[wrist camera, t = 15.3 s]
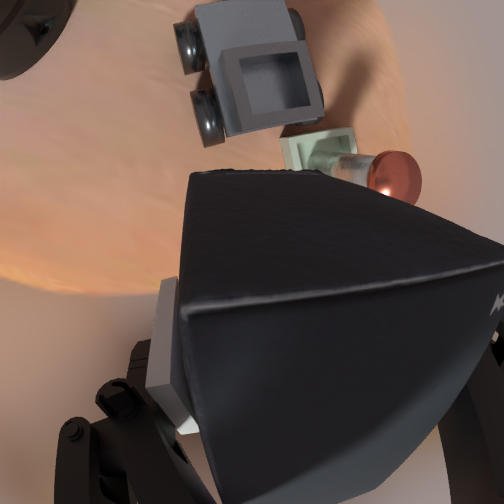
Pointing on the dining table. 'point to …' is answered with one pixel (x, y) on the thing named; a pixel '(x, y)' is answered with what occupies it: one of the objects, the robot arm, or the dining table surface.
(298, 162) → the tray
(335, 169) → the pin
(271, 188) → the small box
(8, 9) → the robot arm
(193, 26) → the trolley
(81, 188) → the dining table surface
